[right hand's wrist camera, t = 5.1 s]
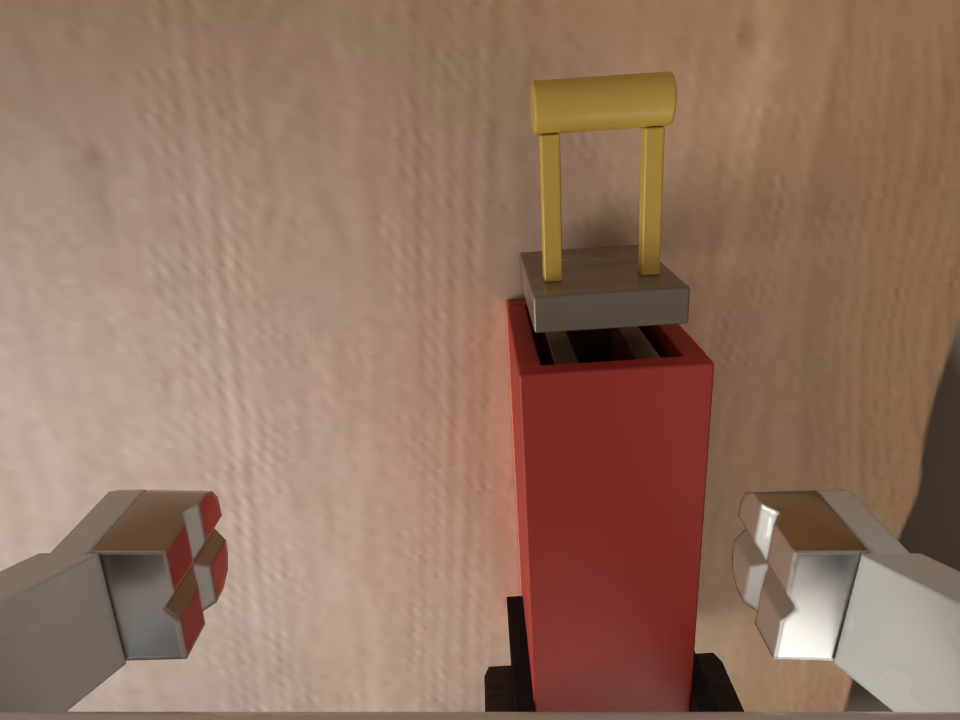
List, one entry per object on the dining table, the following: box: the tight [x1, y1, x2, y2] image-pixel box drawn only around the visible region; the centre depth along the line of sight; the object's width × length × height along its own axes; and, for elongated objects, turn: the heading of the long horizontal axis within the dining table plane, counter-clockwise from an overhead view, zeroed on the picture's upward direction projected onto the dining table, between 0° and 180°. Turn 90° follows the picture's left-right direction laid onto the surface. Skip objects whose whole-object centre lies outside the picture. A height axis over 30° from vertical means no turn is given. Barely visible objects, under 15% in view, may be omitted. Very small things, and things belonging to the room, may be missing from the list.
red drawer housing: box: [506, 300, 714, 712], centre depth 28 cm, size 18×6×8 cm, turn 4°
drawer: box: [519, 72, 690, 366], centre depth 25 cm, size 23×5×6 cm, turn 4°
